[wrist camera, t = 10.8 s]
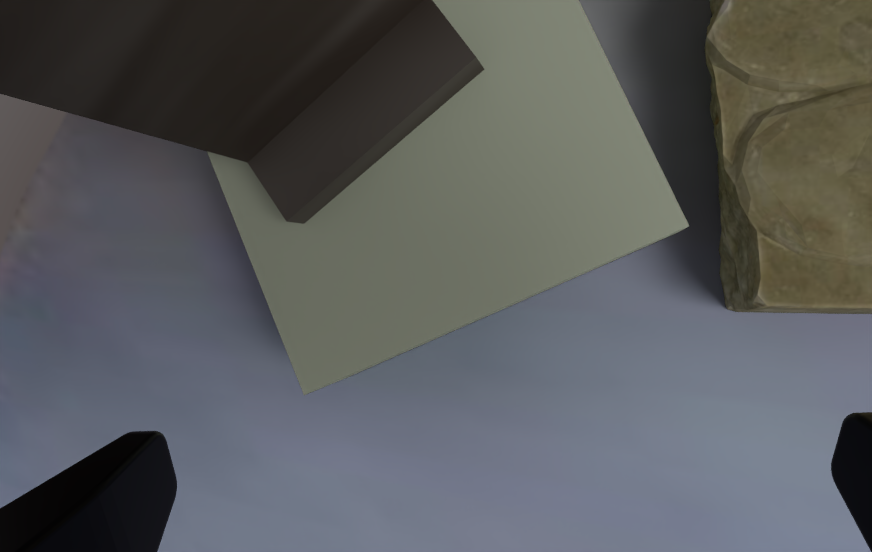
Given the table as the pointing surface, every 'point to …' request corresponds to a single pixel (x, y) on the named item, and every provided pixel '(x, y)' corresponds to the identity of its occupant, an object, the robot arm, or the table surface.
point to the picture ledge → (464, 200)
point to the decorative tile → (793, 153)
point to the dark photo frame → (245, 78)
